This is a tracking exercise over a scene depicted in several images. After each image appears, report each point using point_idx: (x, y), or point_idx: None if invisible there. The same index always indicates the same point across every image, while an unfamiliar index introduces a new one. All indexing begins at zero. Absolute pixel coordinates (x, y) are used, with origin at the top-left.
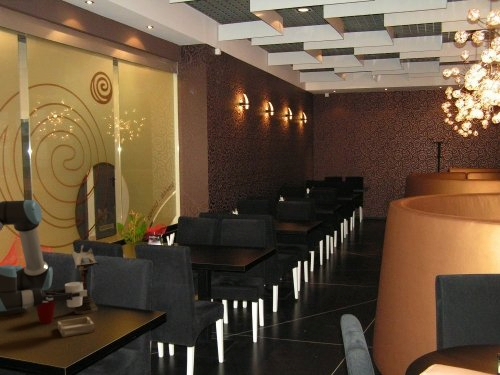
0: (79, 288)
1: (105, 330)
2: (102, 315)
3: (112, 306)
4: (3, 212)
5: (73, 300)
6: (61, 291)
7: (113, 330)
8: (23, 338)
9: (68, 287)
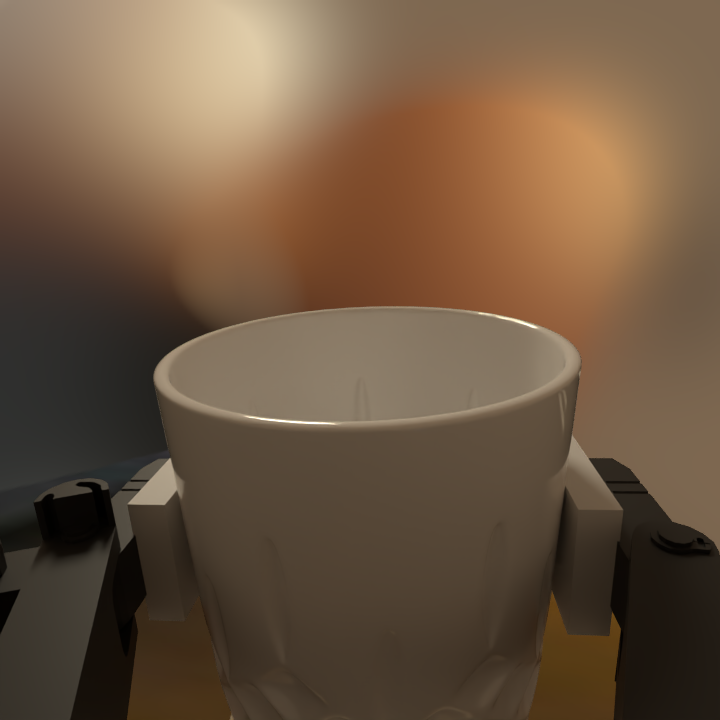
0: (517, 389)
1: (554, 689)
2: (138, 612)
3: (29, 529)
4: None
5: (536, 667)
6: (95, 706)
7: (576, 641)
8: None
9: (537, 438)
